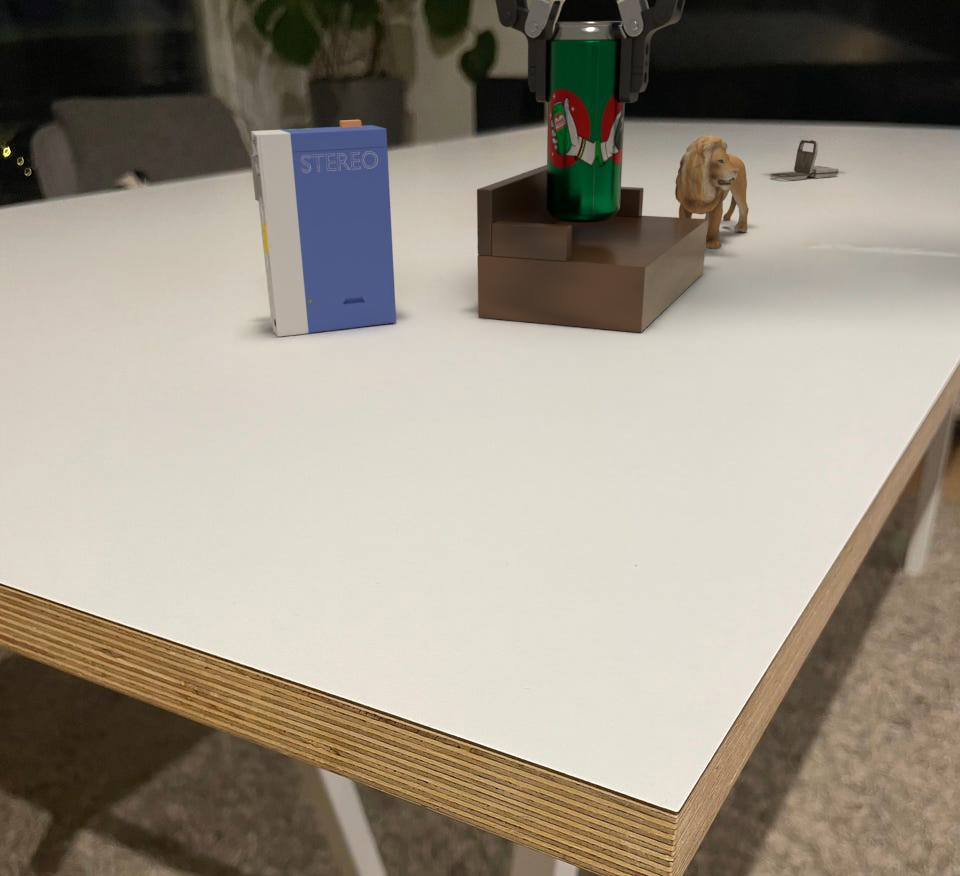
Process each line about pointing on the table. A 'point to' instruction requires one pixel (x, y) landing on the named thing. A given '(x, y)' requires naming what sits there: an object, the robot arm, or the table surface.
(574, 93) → the soda can
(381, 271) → the walkman
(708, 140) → the lion figurine
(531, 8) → the robot arm
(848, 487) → the table surface
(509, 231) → the brown toy sofa
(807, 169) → the strap clip
